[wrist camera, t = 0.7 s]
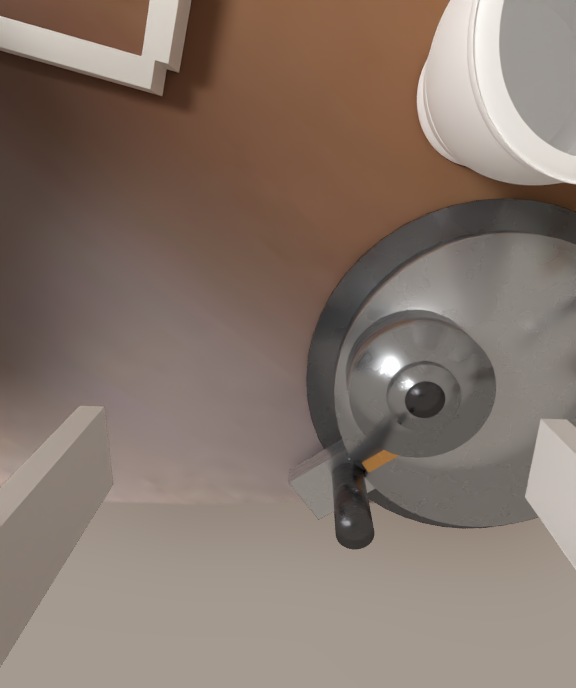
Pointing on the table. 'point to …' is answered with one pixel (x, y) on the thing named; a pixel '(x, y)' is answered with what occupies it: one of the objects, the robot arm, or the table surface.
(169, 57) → the teacup corral
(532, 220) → the turntable base
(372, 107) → the table surface
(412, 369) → the cover
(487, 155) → the jar
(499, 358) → the turntable
